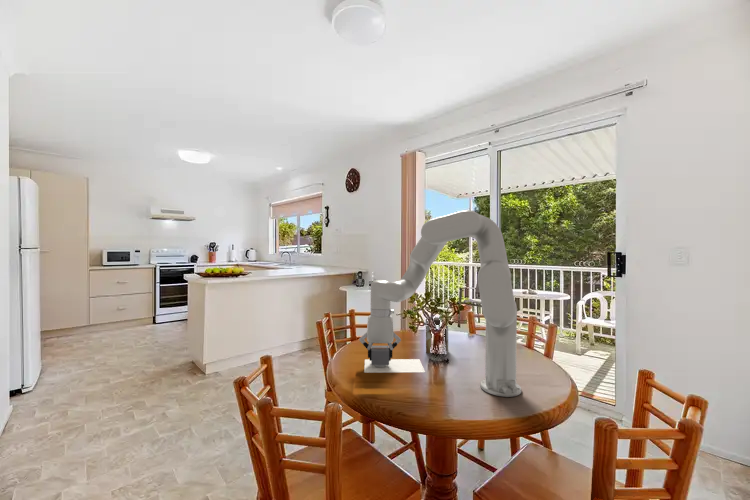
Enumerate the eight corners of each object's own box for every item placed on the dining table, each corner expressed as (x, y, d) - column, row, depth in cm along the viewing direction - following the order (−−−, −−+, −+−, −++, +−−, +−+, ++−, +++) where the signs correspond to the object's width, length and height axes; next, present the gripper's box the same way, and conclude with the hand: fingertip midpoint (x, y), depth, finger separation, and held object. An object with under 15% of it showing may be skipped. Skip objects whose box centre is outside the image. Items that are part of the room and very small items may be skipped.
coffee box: (449, 354, 145) (449, 317, 145) (446, 359, 139) (447, 320, 139) (428, 352, 149) (428, 316, 148) (425, 356, 142) (425, 319, 142)
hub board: (425, 376, 121) (425, 363, 121) (364, 376, 120) (364, 364, 120) (419, 362, 135) (419, 351, 135) (364, 363, 134) (364, 351, 134)
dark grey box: (388, 358, 131) (388, 345, 131) (389, 364, 124) (389, 350, 124) (371, 358, 131) (371, 345, 131) (371, 364, 124) (371, 350, 124)
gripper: (402, 311, 131) (401, 356, 131) (357, 310, 131) (357, 356, 131) (404, 315, 124) (403, 363, 124) (357, 314, 123) (356, 363, 124)
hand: (380, 359), depth 128 cm, fingers closed on dark grey box, 6 cm apart
